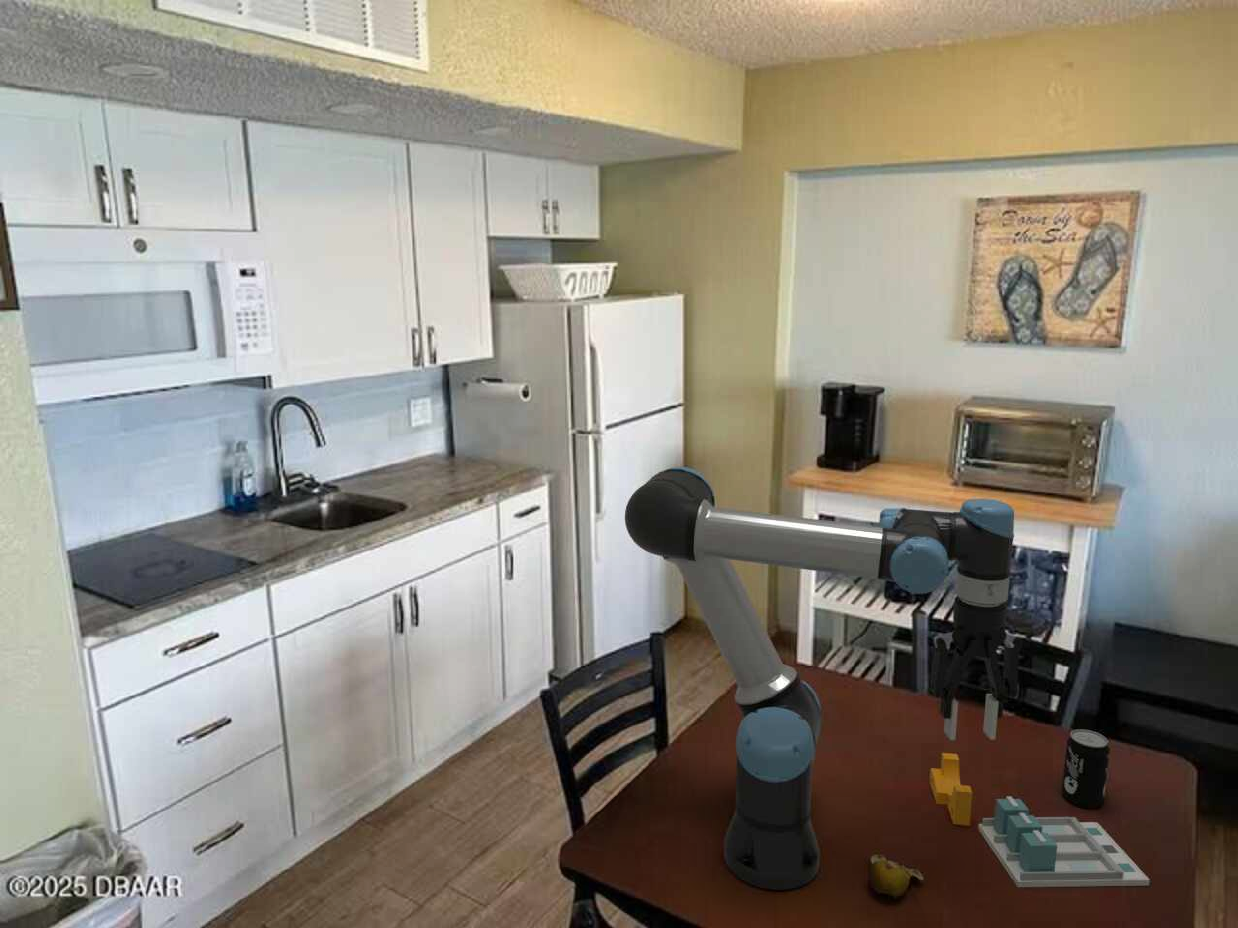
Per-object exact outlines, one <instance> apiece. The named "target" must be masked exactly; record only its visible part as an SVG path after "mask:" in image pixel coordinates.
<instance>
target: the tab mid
mask: <svg viewBox="0 0 1238 928" xmlns="http://www.w3.org/2000/svg"><path fill="white" fill-rule="evenodd" d="M1042 829H1043V827H1042V826H1041V824H1040V823H1039V822H1038V821H1037V819H1036V818H1035V816H1034V815H1031V814H1030V815H1029V814H1028V815H1025V813H1019V815H1016V816H1008V824H1007V835H1006V844H1007V846H1008V847H1009V849H1010V850H1011V851H1012V853H1020V843H1021V833H1033V830H1038V831H1039V832H1040V833H1042Z"/></svg>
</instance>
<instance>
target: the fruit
mask: <svg viewBox="0 0 1238 928" xmlns="http://www.w3.org/2000/svg"><path fill="white" fill-rule="evenodd" d="M870 863H871V866H870V869H869V870H868V877H867V878H868V881H869V882H868V883H869V886H870V888H871V890H872V891H873V892H876V893H879V894H886V895H888V896H892V897H893V898H898V897H902V896H904V895H905V892H906V891H907V890H908V887H909V885H910V879H911V878H912V877H916V878H917V879H918V880H919V882H923V881H924V876H923V875H922V873H921V872H920V871H919V870H918V869H916V868H915V869H913V868H910V869H909V868H907V867H905V866H904V865H902V866H901V865H900V864H899V863H897V862H894V861H892V860H890V859H889V860H888V859H886V857H885V855H882V854H881V853H880V854H878V853H876V854H874V855H871V856H870Z"/></svg>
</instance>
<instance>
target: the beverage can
mask: <svg viewBox="0 0 1238 928" xmlns="http://www.w3.org/2000/svg"><path fill="white" fill-rule="evenodd" d="M1108 744H1109V741H1108V739H1107V738H1106V737H1105V736H1104V735H1102V734H1101V733H1099V732H1096V731H1093V730H1090V729H1084V728H1083V729H1081V728H1080V729H1079V728H1078V729H1074V730H1072V731H1071V732H1070V736H1069V737H1068V738H1067V739H1066V746H1065V747H1066V748H1065V756H1064V765H1063V773H1062V783H1061V794H1062V795H1063V796H1064V797H1065V799H1066V800H1067V801H1068V802H1069V803H1071V804H1073V805H1074V806H1076V807H1081V808H1083V809H1095V808H1097V807H1100V806H1101V805H1103V804H1104V801H1105V794H1106V784H1107V777H1108V770H1109V769H1108V768H1109V760H1110V753H1111V750H1110V747H1109V745H1108Z"/></svg>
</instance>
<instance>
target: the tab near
mask: <svg viewBox="0 0 1238 928" xmlns="http://www.w3.org/2000/svg"><path fill="white" fill-rule="evenodd" d="M1056 853H1057V844H1056V843H1055V842H1054V841H1053V839H1052V838H1051V837H1050V836H1049V834H1048V833H1040V832H1039V831H1038V830H1033V833H1021V843H1020V853H1019V863H1020V864H1021V865H1022V867H1023V868H1024V870H1025V871H1026V872H1048V871H1055V862H1056Z"/></svg>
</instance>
